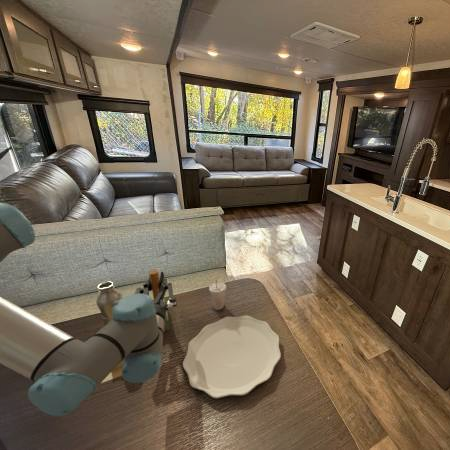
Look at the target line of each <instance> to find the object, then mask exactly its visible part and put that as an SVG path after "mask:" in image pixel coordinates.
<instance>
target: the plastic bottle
mask: <svg viewBox="0 0 450 450" xmlns="http://www.w3.org/2000/svg"><path fill="white" fill-rule="evenodd" d="M97 288H98V293H99V294H98V295H97V298H96V301H95V303H96V306H97V308H98V309H99V311H100V314H101V316H102V320H103V327H104V326H105V325H107V324H108V323H109V322H110V321H112V320H113V317H112V309H113V307H114V305H115V303H116V302H117V301H119V300H120V299H122V298H123V294H122V292H121V291H119V290H117V289H116V286H115V285H114V283H113V282H112V281H104V282H101V283H100V284H98V285H97Z"/></svg>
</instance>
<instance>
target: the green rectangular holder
mask: <svg viewBox="0 0 450 450" xmlns="http://www.w3.org/2000/svg"><path fill="white" fill-rule="evenodd" d="M163 301H164V302H165V303H166V300H165V298H164V299H163ZM170 330H171V324H170V319H169V315H168V310H167V311H166V316H165V326H164V333H165V332H168V331H170Z"/></svg>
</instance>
